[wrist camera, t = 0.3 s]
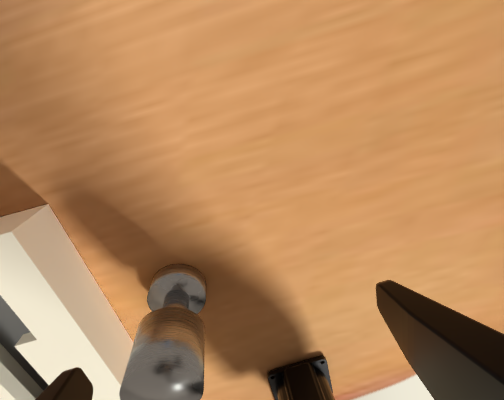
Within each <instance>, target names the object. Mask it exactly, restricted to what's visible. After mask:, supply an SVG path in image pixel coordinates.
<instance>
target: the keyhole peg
mask: <svg viewBox="0 0 504 400" xmlns="http://www.w3.org/2000/svg"><path fill="white" fill-rule="evenodd" d="M205 301H206V281H205V278H204V276H203V275H202V273H201V272H200V271H198V270H197V269H196V268H194V267H192V266H189V265H185V264H173V265H169V266H166V267H164V268H162V269H161V270H159V271H158V272H157V273H156V274H155V276H154V277H153V279H152V282H151V286H150V289H149V292H148V296H147V302H148V305H149V308H150V309H151V311H152V312H150V313H149V314H147V315H146V316H145V317H144V318H143V319H142V321H141V322H140V324H139V326H138V330H137V333H136V337H135V340H134V343H133V347H132V350H131V353H130V357H129V360H128V364H127V367H126V370H125V374H124V377H123V381H122V384H121V387H120V392H119V396H120V400H200V399H201V397H202V395H203V390H204V348H205V326H204V323H203V321H202V319H201V318H200V317H199V316H198V315H197V314H198V313H199V312H200V311H201V310H202V308H203V307H204V304H205Z"/></svg>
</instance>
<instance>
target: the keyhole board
mask: <svg viewBox="0 0 504 400" xmlns="http://www.w3.org/2000/svg"><path fill="white" fill-rule="evenodd" d="M133 343H134V342H133V341H132V339H131V338H130V336H129V334H128V333H127V331H126V329H125V328H124V326H123V324H122V323H121V321H120V320H119V318H118V316H117V315H116V313H115V311H114V310H113V308H112V307H111V305H110V303H109V302H108V300H107V298H106V297H105V295H104V294H103V292H102V290H101V289H100V287H99V285H98V284H97V282H96V281H95V279H94V277H93V276H92V274H91V272H90V271H89V269H88V268H87V266H86V264H85V263H84V261H83V259H82V258H81V256H80V255H79V253H78V251H77V250H76V248H75V246H74V245H73V243H72V242H71V240H70V238H69V237H68V235H67V233H66V232H65V230H64V229H63V227H62V225H61V224H60V222H59V220H58V219H57V217H56V216H55V214H54V212H53V211H52V209H51V207H50V206H49V204H46V205H42V206H39V207H35V208H31V209H28V210H24V211H21V212H17V213H13V214H10V215H6V216H2V217H0V400H35V399H36V398H37V397H38V396H39V395H40V394H41V393H42V392H43V391H44V390H45V389H46V388H47V387H48V386H49V385H50V384H51V383H52V382H53V381H54V380H55V379H56V378H57V377H58V376H59V375H60V374H61V373H62V372H63V371H65V370H68V369H72V368H76V367H79V368H81V369H82V370H83V372H84V373H85V374H86V376H87V377H88V379H89V380H90V381H91V383H92V385H93V397H92V400H120V396H119V392H120V387H121V384H122V381H123V377H124V374H125V370H126V367H127V364H128V360H129V357H130V353H131V350H132V347H133Z"/></svg>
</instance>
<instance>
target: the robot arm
mask: <svg viewBox="0 0 504 400" xmlns="http://www.w3.org/2000/svg"><path fill="white" fill-rule="evenodd" d="M376 297H377V306H378V309H379V311H380V313H381V315H382V317H383V318H384V320H385V322H386V324H387V325H388V327H389V329H390V331H391V333H392V334H393V336H394V338H395V340H396V341H397V343H398V345H399V347H400V348H401V350H402V352H403V354H404V355H405V357H406V359H407V361H408V362H409V364H410V365H411V367H412V368H413V370H414V371H415V372H416V374H417V375H418V377H419V378H420V380H421V381H422V382H423V384H424V385H425V387H426V388H427V390H428V391H429V392H430V394H431V395H432V397H433V398H434V400H504V334H502V333H500V332H498V331H496V330H494V329H492V328H490V327H488V326H486V325H484V324H481V323H479V322H477V321H475V320H473V319H471V318H469V317H467V316H465V315H463V314H461V313H459V312H456V311H454V310H452V309H450V308H448V307H446V306H444V305H442V304H440V303H438V302H436V301H433V300H431V299H429V298H427V297H425V296H423V295H421V294H419V293H417V292H415V291H413V290H410V289H408V288H406V287H404V286H402V285H400V284H398V283H396V282H394V281H391V280H386V281H383V282H379V283H377V284H376ZM267 375H268V380H269V383H270V386H271V389H272V391H273V394H274V397H275V400H335V399H334V396H333V394H332V393H333V391H332V385H331V380H330V375H329V370H328V365H327V361H326V358H325V357H324V356H319V357H316V358H313V359H309V360H306V361H303V362H299V363H296V364H293V365H289V366H286V367H283V368H279V369H276V370H273V371H270V372H268V374H267ZM92 397H93V385H92V383H91V381H90V380H89V379H88V377H87V376H86V374H85V373H84V372H83V370H82V369H81V368H79V367H76V368H72V369H68V370H65V371H63V372H62V373H61V374H60V375H59V376H58V377H57V378H56V379H55V380H54V381H53V382H52V383H51V384H50V385H49V386H48V387H47V388H46V389H45V390H44V391H43V392H42V393H41V394H40V395H39V396H38V397H37V398H36V399H35V400H92Z"/></svg>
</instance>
